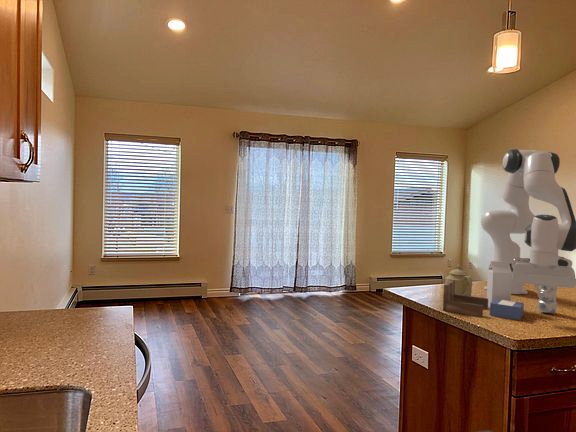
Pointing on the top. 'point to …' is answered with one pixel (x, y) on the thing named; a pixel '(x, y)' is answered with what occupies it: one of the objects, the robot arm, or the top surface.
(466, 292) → the sugar bowl
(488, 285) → the milk carton
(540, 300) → the plastic bottle
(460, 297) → the stand
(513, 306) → the navy carton
